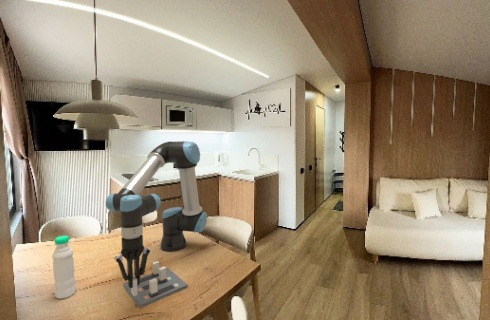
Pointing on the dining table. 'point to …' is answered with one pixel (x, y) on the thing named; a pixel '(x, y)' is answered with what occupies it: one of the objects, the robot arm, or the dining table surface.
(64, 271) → the water bottle
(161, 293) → the panel
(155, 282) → the breaker
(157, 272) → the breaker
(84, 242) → the dining table surface
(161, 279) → the breaker
